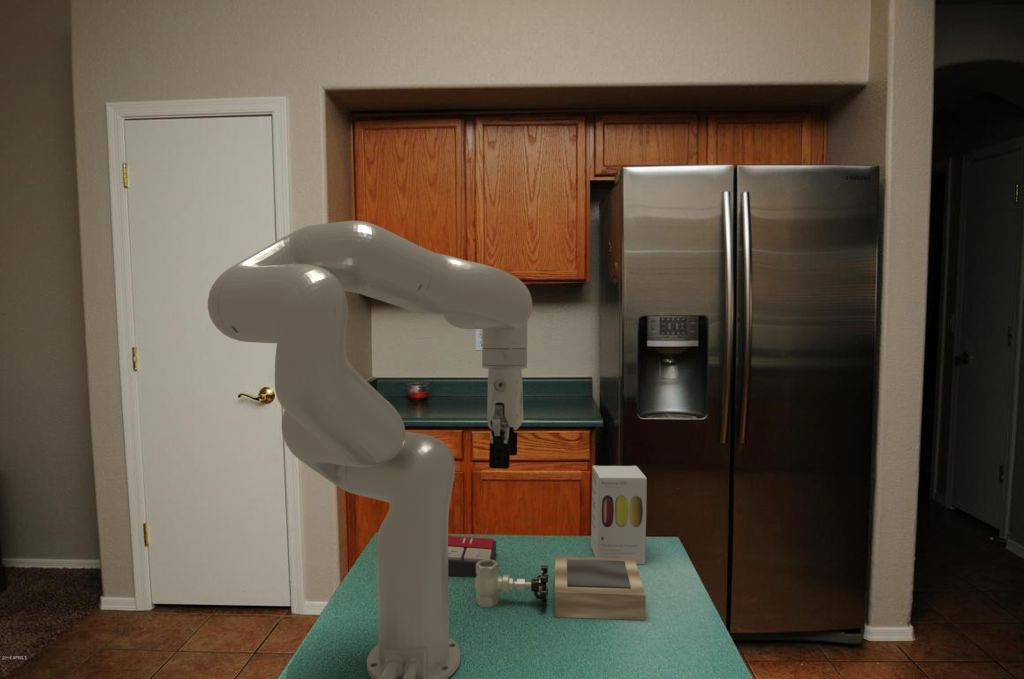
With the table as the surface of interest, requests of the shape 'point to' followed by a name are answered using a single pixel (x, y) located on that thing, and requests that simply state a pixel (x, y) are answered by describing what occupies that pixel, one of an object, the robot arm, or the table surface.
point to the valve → (505, 584)
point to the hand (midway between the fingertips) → (503, 461)
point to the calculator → (468, 554)
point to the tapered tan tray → (598, 588)
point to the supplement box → (619, 512)
